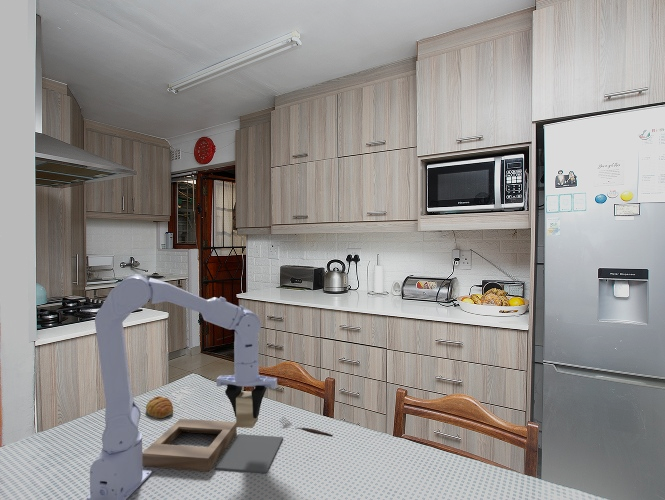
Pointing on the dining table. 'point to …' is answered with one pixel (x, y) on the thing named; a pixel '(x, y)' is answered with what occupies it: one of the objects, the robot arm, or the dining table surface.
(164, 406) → the pastry
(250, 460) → the mat
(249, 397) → the block
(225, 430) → the wooden square frame
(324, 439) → the dining table surface
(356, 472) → the dining table surface
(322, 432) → the fork
